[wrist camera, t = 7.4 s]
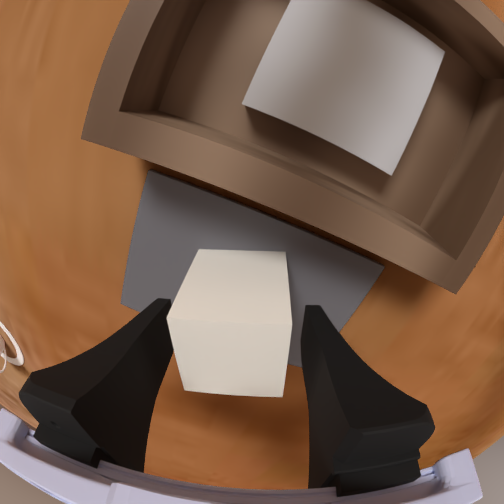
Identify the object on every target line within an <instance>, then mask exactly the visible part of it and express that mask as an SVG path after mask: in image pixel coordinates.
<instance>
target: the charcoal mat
mask: <svg viewBox="0 0 504 504" xmlns="http://www.w3.org/2000/svg"><path fill="white" fill-rule="evenodd" d="M199 249H210V250H244V251H277V252H286V261H287V271H288V282H289V293H290V304H291V316H292V331H291V339H290V347H289V354H288V362H287V364H291V365H294V366H298V367H302V362H301V343H300V339H301V333H302V326H303V319H304V312H305V305H320V306H321V307H322V308H323V310H324V311H325V313H326V315H327V316H328V318H329V319H330V321H331V322H332V324H333V325H334V326H335V328H336V329H337V331H338V332H340V330H341V329H342V328H343V326H344V325H345V324H346V322H347V321H348V320H349V318H350V317H351V316H352V314H353V313H354V312H355V310H356V309H357V307H358V306H359V305H360V303H361V302H362V300H363V299H364V298H365V296H366V295H367V293H368V292H369V290H370V289H371V287H372V286H373V284H374V283H375V281H376V280H377V278H378V277H379V275H380V274H381V272H382V271H383V269H384V268H385V267H384V265H383V264H381V263H379V262H377V261H375V260H373V259H370V258H368V257H366V256H364V255H362V254H359V253H357V252H355V251H353V250H351V249H348V248H346V247H344V246H342V245H339V244H337V243H335V242H333V241H330V240H328V239H326V238H324V237H321V236H319V235H317V234H314V233H312V232H310V231H307V230H305V229H303V228H300V227H298V226H296V225H293V224H291V223H289V222H286V221H284V220H281V219H279V218H277V217H274V216H272V215H269V214H267V213H264V212H262V211H260V210H257V209H255V208H252V207H250V206H247V205H245V204H242V203H240V202H237V201H235V200H232V199H230V198H227V197H224V196H222V195H219V194H217V193H214V192H212V191H209V190H206V189H204V188H201V187H199V186H196V185H193V184H191V183H188V182H185V181H183V180H180V179H177V178H174V177H172V176H169V175H166V174H163V173H161V172H158V171H155V170H152V169H150V170H148V173H147V177H146V181H145V184H144V188H143V192H142V196H141V200H140V204H139V208H138V212H137V217H136V221H135V225H134V230H133V235H132V240H131V244H130V250H129V255H128V260H127V266H126V272H125V278H124V284H123V290H122V297H121V304H123V305H125V306H127V307H129V308H132V309H134V310H136V311H139V312H142V311H143V310H144V309H145V308H146V307H147V306H149V305H150V304H151V303H152V302H153V301H155V300H156V299H157V298H164V299H171V304H173V302H174V300H175V298H176V296H177V294H178V291H179V289H180V287H181V285H182V283H183V281H184V279H185V277H186V275H187V272H188V270H189V268H190V266H191V264H192V262H193V260H194V258H195V256H196V254H197V252H198V250H199Z"/></svg>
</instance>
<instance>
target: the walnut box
mask: <svg viewBox="0 0 504 504" xmlns="http://www.w3.org/2000/svg"><path fill="white" fill-rule="evenodd" d="M81 139H83V140H86V141H89V142H93V143H96V144H99V145H102V146H105V147H108V148H111V149H114V150H117V151H120V152H123V153H126V154H129V155H132V156H135V157H138V158H141V159H144V160H147V161H150V162H153V163H155V164H158V165H161V166H164V167H167V168H170V169H172V170H175V171H178V172H181V173H183V174H186V175H189V176H191V177H194V178H197V179H199V180H202V181H205V182H207V183H210V184H213V185H215V186H218V187H220V188H223V189H225V190H228V191H231V192H233V193H236V194H238V195H241V196H243V197H246V198H248V199H251V200H253V201H256V202H258V203H261V204H263V205H265V206H268V207H270V208H273V209H275V210H277V211H280V212H282V213H285V214H287V215H289V216H292V217H294V218H296V219H299V220H301V221H303V222H306V223H308V224H310V225H313V226H315V227H317V228H319V229H322V230H324V231H326V232H328V233H331V234H333V235H335V236H337V237H340V238H342V239H344V240H346V241H348V242H350V243H353V244H355V245H357V246H359V247H361V248H363V249H366V250H368V251H370V252H372V253H374V254H376V255H378V256H380V257H382V258H385V259H387V260H389V261H391V262H393V263H395V264H397V265H399V266H401V267H403V268H405V269H407V270H409V271H411V272H413V273H415V274H417V275H419V276H421V277H423V278H425V279H427V280H429V281H431V282H433V283H435V284H437V285H439V286H441V287H443V288H444V289H446V290H448V291H450V292H452V293H454V294H457V292H458V291H459V289H460V288H461V287H462V285H463V284H464V282H465V281H466V279H467V278H468V276H469V275H470V273H471V272H472V270H473V268H474V267H475V265H476V264H477V262H478V261H479V259H480V257H481V256H482V254H483V252H484V251H485V249H486V247H487V245H488V244H489V242H490V240H491V238H492V237H493V235H494V233H495V231H496V229H497V227H498V225H499V223H500V222H501V220H502V218H503V216H504V23H503V22H502V21H501V20H500V19H499V18H498V17H497V16H496V15H495V14H494V13H493V12H492V11H491V10H490V9H489V8H488V7H487V6H486V5H485V4H484V3H483V2H481V1H480V0H130V2H129V4H128V6H127V8H126V10H125V12H124V14H123V16H122V18H121V20H120V22H119V25H118V27H117V29H116V31H115V34H114V36H113V38H112V41H111V43H110V46H109V48H108V51H107V53H106V56H105V58H104V61H103V64H102V67H101V70H100V72H99V75H98V78H97V81H96V84H95V88H94V91H93V94H92V97H91V101H90V104H89V108H88V112H87V115H86V119H85V123H84V127H83V131H82V136H81Z"/></svg>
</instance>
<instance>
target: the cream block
mask: <svg viewBox="0 0 504 504" xmlns="http://www.w3.org/2000/svg"><path fill="white" fill-rule="evenodd" d="M167 322H168V327H169V331H170V336H171V340H172V344H173V348H174V352H175V356H176V360H177V364H178V368H179V372H180V376H181V379H182V383H183V386H184V390H187V391H195V392H204V393H214V394H225V395H240V396H260V397H283V390H284V383H285V376H286V369H287V362H288V354H289V347H290V339H291V331H292V316H291V304H290V293H289V282H288V271H287V261H286V252H277V251H244V250H210V249H199V250H198V252H197V254H196V256H195V258H194V260H193V262H192V264H191V266H190V268H189V270H188V272H187V275H186V277H185V279H184V281H183V283H182V285H181V287H180V289H179V291H178V294H177V296H176V298H175V300H174V302H173V304H172V307H171V309H170V311H169V313H168V315H167Z"/></svg>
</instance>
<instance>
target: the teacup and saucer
mask: <svg viewBox="0 0 504 504" xmlns="http://www.w3.org/2000/svg"><path fill="white" fill-rule="evenodd" d="M0 326H1V328H2V329H3V330H4V331H5V332H6V334H7V335H8V336H9V338H10V339H11V341H12V343H13V344H14V346H15V348H16V351H17V357H16V358H10V357H8V356H7V354H6V349H5V341H4V339H3V338H2V336H1V335H0V355H1V356H2V357H3V358H4V359H5V364H4V368H3V370H0V373H2V372H3V371H4V370H5V368H6V364H7V361H9V362H10V363H12V364H14V365H18V366H21V365H23V363H24V357H23V354H22V352H21V349H20V347H19V346H18V344H17V342H16V341H15V339H14V338H13V336H12V335H11V333H10V332H9V331H8V330H7V328H6V327H5V326H4V325H3V324H2V322H1V321H0ZM3 350H4V353H5V354H4V353H2V352H3Z"/></svg>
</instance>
